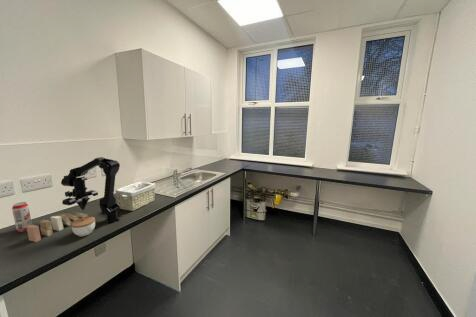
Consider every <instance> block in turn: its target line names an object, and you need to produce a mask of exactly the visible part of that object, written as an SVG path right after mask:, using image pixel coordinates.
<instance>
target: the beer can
mask: <svg viewBox="0 0 476 317" xmlns="http://www.w3.org/2000/svg"><path fill="white" fill-rule="evenodd" d="M11 211H12V215H13V218H14V220H13V221H14V224H15V229H16V232H19V233H25V232H27V226H29V225H33V223H32V222H33V221H32V217H31V213H30V208H29V204H28V203H27V202H26V201H22V202H16V203H13V205H12V207H11Z"/></svg>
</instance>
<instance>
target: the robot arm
mask: <svg viewBox="0 0 476 317" xmlns="http://www.w3.org/2000/svg"><path fill="white" fill-rule="evenodd" d="M120 166H121V165H120V163H119V162H118V161H117V160H114V159H109V158H105V157H102V156H100V157H99V156H98V157H95V158H93V159H92V160H91V161H89V162H87V163H84V164H83V165H81V166H79V167H74V168H71V169H69V172H68V175H67V174H66V175H64V176H63V178H62V179H61V182H60V184H61V185H62V186H64V187H72V191H70V190H68V191H65V192H64V196H65V197H66V198H64V199H62V201H61V203H62V205H64V206H71V205H75V204H77V205H78V207H79V208H80V209H81V211H84V210H85V209H86V207H87V204H88V202H89V201H90V199H91V196H93V197H96V196H98V195H99V193H98V191H97V190H93V189H91V190H88V187H86V181H87V180H88V178H87V177H85V175H87V174H88V173H89V171H91V170H92V169H94V168H96V167H99V169H102V170H103V173H104V174H105V179H104V180H105V182H104V195H103V197H101V198H100V199H99V204H98V206H99V208H100V211H101V213H102V215H104V216H106V218H105V222H106V224H108V225H109V224H112V223H115V222H118V221H120V218H119V217H118V210H120V209H121V208H120V206H119V205H118V202H117V198H116V197H115V196H114V194H115V186H116V184H115V183H116V176H117V174H118V172H119V170H120ZM87 190H88V191H87Z"/></svg>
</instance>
